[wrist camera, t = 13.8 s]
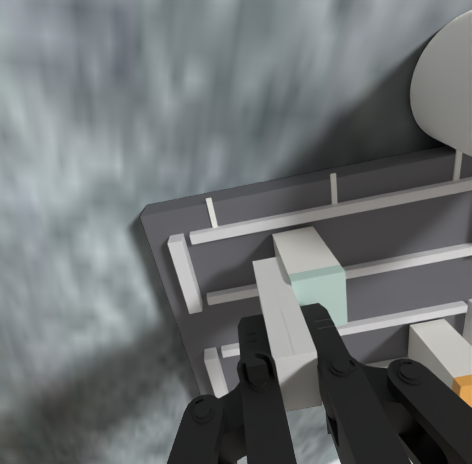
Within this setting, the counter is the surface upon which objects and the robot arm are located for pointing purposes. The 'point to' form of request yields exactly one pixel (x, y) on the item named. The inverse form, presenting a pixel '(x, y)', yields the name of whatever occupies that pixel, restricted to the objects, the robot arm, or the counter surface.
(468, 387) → the fader
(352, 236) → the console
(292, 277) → the block
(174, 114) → the counter surface
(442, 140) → the cup
